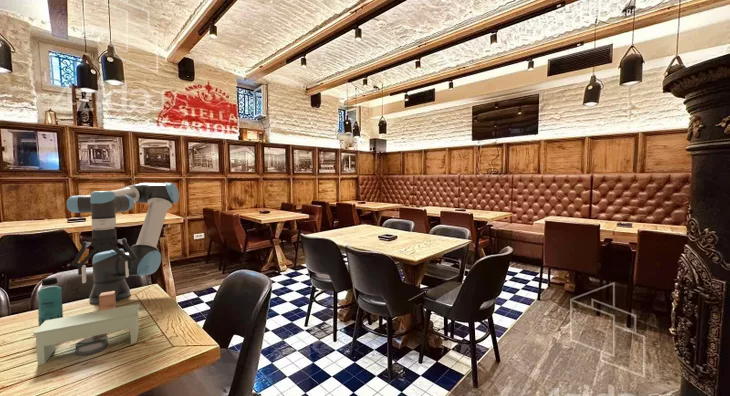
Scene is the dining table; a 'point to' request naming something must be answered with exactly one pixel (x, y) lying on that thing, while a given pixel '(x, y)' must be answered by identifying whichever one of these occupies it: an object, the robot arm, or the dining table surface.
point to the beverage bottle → (49, 301)
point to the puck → (91, 345)
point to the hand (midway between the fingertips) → (106, 279)
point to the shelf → (85, 328)
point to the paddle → (107, 301)
